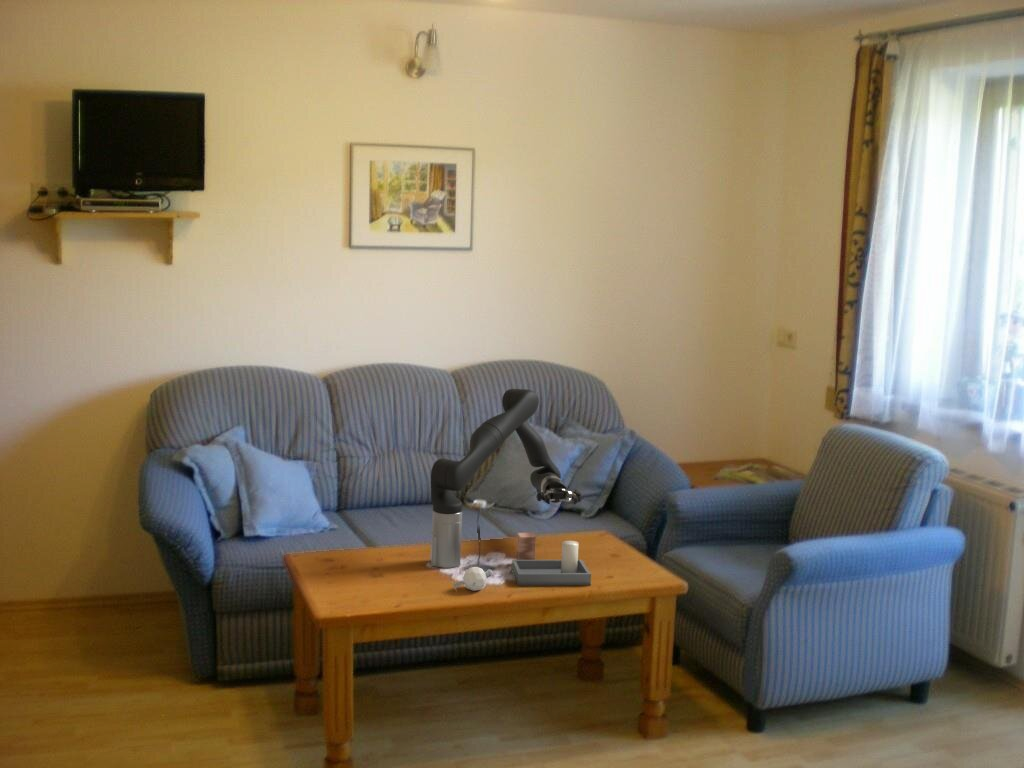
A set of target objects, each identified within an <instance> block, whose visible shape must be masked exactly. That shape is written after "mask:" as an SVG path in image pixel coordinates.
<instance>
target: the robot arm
mask: <svg viewBox="0 0 1024 768" xmlns="http://www.w3.org/2000/svg"><path fill="white" fill-rule="evenodd" d="M501 403H502V409H503V411H504V412H502V413H500V414H497V415H495V416H493V417H491V418H489V419H487V420H485V421H484V422H482V423H481V424H480V425H479V426H478V427H477V428H476V429H475V430H474V431H473V433H472V434H471V436H470V439H469V450H468V451H469V452H468V453H467V454H466V455H465V456H464V458H462V459H461V460H454V459H448V458H439V459H436V461H435V462H434V463H433V465H432V467H431V471H430V501H431V505H432V521H431V523H432V525H431V528H432V529H431V535H430V537H431V538H430V563H431V564H430V565H431V567H437V568H445V569H449V568H452V569H453V568H456V567H459V566H460V565H461V559H462V556H461V554H462V533H463V531H462V530H463V529H462V528H463V527H462V525H463V502H462V501H461V500H460V499H459V498H458V497H456V496H455V495H454V493H453V492H459V491H462V490H463V489H465V488H466V487H467V485H468V484H469V483H470V482H471V481H472V479H473V478H474V477H475V475H476V474H477V472H478V471H479V470H480V468H481V467H482V466H483V464H484V463H486V461H487V460H488V459H489V458H490V457H491V456H492V455H493V454H494V453H495V452H496V451H497V450H498V449H499V447H501V446H502V444H504V442H505V441H506V440H507V439H508V438H509V437H510V436H511V435H512V434H514V433H515V432H516V434H517V436H518V437H519V440H520V441H521V443H522V446H523V449H524V451H525V453H526V456H527V459H528V462H529V464H530V465H531V467H533V468H537V469H535V470H533V471H532V472H531V473H530V475H529V476H530V478H529V479H530V483H531V485H532V486H533V488H534V489H535V490H536V492H535V493H536V494H535V498H536V500H537V502H541V501H543V503H546V504H547V505H550V503H553V504H557V503H560V502H562V501H564V502H567V503H568V502H572V505H576V504H578V503H579V502H581V501H582V500H581V497H582V494H581V492H580V491H579V490H578V489H573V491H571V490H568V489H567V487H566V484H565V483H564V482H563V481H562V480H561V478H562V475H561V472H560V470H559V469H558V467H557V466H556V464H555V463H554V462H553V460H552V459H551V457H550V455H549V453H548V450H547V448H546V447H547V446H546V444H545V442H544V440H543V438H542V437H541V435H540V434H539V433H538V432H537V431H536V430H535V429H534V427H533V426H532V425H531V424H530V423H529V422H528V421H527V420H529V419H530V418H531V417H532V416H534V414H535V413H536V411H537V410H538V407H539V404H540V397H539V394H538V393H536V391H533V390H531V389H523V388H509V389H507V390H506V391H505V392H504V393H503V395H502V400H501Z"/></svg>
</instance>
